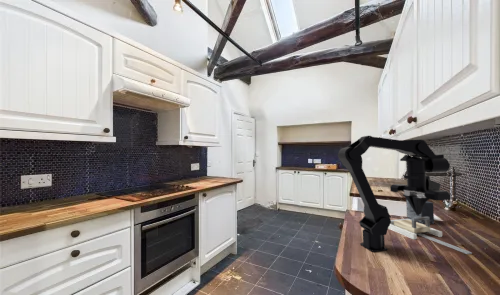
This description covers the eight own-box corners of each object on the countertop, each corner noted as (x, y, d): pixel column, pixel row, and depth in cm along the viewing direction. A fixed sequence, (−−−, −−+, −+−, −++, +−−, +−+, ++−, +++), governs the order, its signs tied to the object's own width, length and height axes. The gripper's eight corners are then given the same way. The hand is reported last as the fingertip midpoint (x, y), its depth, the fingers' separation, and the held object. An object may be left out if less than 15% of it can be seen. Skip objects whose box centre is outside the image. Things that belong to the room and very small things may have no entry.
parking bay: (452, 256, 70) (452, 247, 70) (384, 227, 98) (384, 220, 98) (485, 251, 72) (485, 243, 72) (409, 224, 100) (409, 218, 100)
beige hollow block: (414, 236, 86) (413, 218, 86) (394, 227, 96) (393, 212, 96) (430, 234, 87) (429, 217, 88) (408, 226, 97) (408, 211, 98)
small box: (435, 224, 101) (434, 202, 101) (422, 224, 101) (421, 202, 101) (418, 217, 111) (417, 198, 112) (406, 217, 111) (405, 198, 112)
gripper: (462, 174, 70) (465, 220, 69) (411, 170, 88) (413, 207, 88) (435, 175, 68) (437, 223, 67) (388, 171, 86) (390, 208, 86)
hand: (418, 214), depth 77 cm, fingers closed
